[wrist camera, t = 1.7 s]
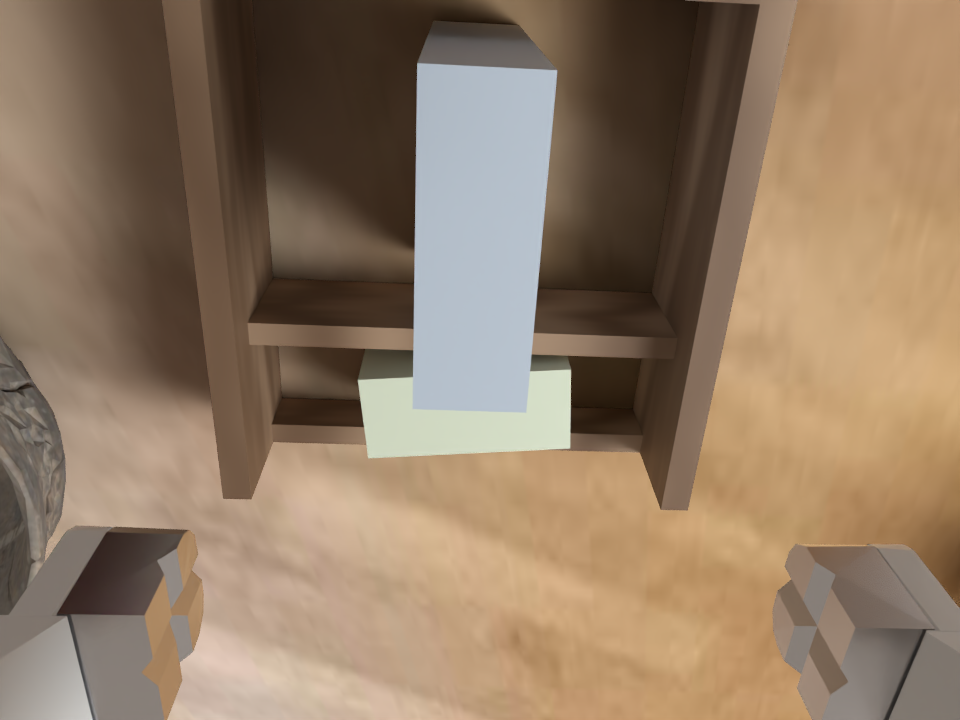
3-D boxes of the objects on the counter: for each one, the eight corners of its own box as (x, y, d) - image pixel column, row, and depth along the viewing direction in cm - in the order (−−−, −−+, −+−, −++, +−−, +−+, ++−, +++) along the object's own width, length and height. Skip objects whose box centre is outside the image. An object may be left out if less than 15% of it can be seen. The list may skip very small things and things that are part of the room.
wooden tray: (734, -32, 31) (803, -28, 25) (652, 426, 41) (687, 510, 35) (216, -62, 30) (153, -65, 24) (259, 414, 40) (223, 498, 34)
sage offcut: (563, 338, 36) (570, 369, 33) (562, 413, 37) (570, 448, 35) (365, 347, 36) (357, 379, 33) (374, 422, 38) (368, 458, 35)
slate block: (519, 25, 32) (557, 70, 20) (503, 256, 37) (526, 412, 24) (433, 20, 32) (417, 63, 19) (428, 254, 36) (412, 409, 24)
